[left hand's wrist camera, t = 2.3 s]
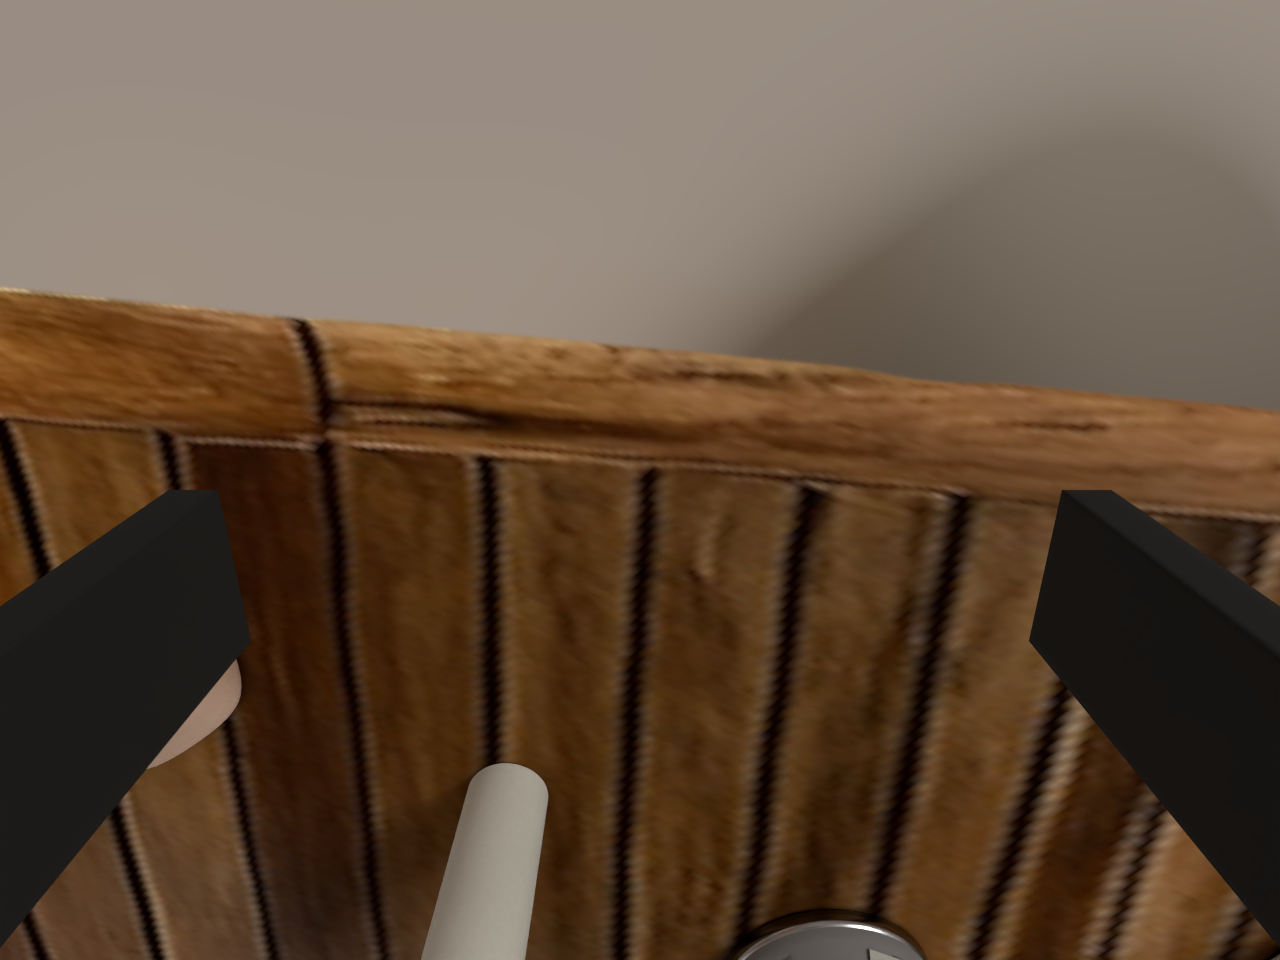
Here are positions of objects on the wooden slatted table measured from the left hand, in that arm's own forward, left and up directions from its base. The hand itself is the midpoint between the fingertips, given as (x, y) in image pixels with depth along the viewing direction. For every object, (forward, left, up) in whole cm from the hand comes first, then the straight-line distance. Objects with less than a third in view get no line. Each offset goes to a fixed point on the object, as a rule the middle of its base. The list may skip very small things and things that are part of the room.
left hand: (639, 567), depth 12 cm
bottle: (-32, +8, -28) cm, 43 cm away
